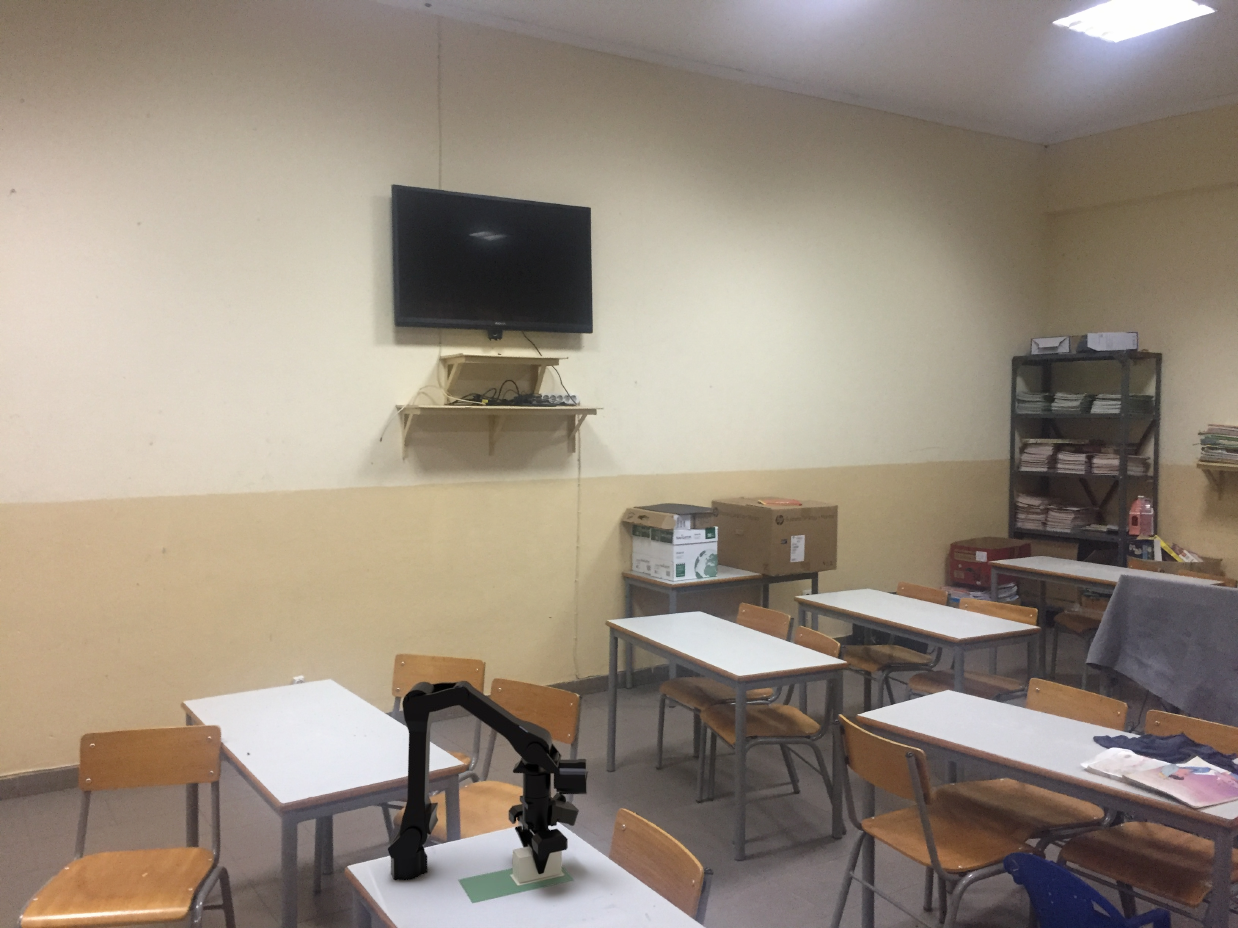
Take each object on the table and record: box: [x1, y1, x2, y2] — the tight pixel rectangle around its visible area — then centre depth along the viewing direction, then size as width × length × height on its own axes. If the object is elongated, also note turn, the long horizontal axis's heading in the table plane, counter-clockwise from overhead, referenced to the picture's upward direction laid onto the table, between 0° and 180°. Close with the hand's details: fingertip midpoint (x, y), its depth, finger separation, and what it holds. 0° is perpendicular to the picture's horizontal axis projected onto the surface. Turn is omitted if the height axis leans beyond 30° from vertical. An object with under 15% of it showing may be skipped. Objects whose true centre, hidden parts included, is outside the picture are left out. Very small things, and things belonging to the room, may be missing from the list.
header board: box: [457, 865, 575, 904], centre depth 185 cm, size 21×10×4 cm, turn 115°
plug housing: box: [512, 847, 563, 883], centre depth 187 cm, size 9×4×5 cm, turn 115°
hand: (537, 868), depth 187 cm, fingers closed on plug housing, 4 cm apart
